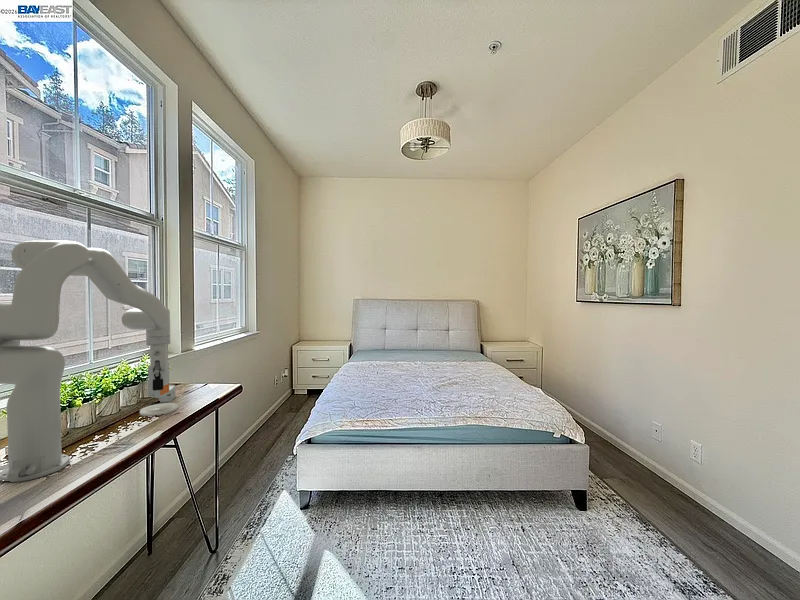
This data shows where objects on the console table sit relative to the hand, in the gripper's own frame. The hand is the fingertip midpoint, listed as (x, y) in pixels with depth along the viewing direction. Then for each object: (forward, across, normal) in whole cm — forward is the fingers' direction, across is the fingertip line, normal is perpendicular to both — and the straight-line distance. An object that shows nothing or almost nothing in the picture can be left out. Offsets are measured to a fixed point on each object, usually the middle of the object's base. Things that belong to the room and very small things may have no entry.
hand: (159, 386), depth 136 cm
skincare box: (+3, 0, 0) cm, 3 cm away
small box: (+9, +15, 0) cm, 18 cm away
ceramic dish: (+9, 0, 0) cm, 9 cm away
